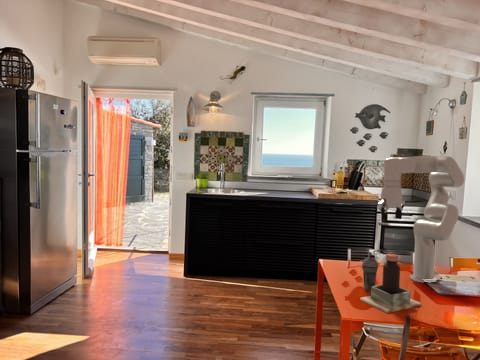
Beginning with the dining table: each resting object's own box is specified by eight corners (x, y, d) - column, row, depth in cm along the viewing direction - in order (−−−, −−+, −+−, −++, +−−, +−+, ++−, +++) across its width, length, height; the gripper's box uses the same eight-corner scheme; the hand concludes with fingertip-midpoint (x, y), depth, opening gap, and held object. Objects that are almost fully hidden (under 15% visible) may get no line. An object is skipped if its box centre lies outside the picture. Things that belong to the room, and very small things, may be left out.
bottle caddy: (392, 293, 170) (393, 280, 170) (421, 305, 157) (421, 291, 156) (360, 299, 161) (360, 286, 161) (387, 313, 148) (387, 298, 148)
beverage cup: (378, 292, 171) (380, 250, 170) (362, 291, 172) (363, 249, 171) (375, 287, 178) (377, 246, 177) (360, 286, 179) (361, 245, 178)
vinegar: (385, 296, 164) (387, 252, 163) (401, 300, 159) (403, 255, 158) (379, 300, 159) (381, 254, 158) (395, 304, 154) (397, 257, 153)
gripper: (397, 182, 181) (397, 216, 182) (372, 184, 173) (372, 220, 174) (411, 183, 174) (410, 219, 175) (385, 185, 166) (385, 222, 167)
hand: (391, 219), depth 175 cm, fingers open, 9 cm apart
